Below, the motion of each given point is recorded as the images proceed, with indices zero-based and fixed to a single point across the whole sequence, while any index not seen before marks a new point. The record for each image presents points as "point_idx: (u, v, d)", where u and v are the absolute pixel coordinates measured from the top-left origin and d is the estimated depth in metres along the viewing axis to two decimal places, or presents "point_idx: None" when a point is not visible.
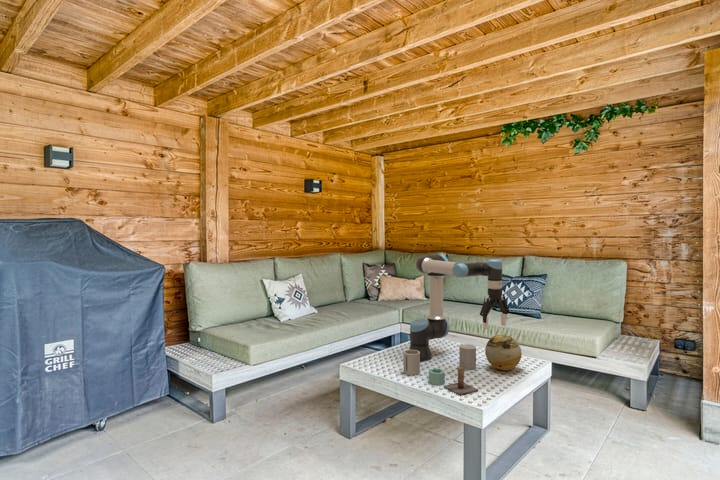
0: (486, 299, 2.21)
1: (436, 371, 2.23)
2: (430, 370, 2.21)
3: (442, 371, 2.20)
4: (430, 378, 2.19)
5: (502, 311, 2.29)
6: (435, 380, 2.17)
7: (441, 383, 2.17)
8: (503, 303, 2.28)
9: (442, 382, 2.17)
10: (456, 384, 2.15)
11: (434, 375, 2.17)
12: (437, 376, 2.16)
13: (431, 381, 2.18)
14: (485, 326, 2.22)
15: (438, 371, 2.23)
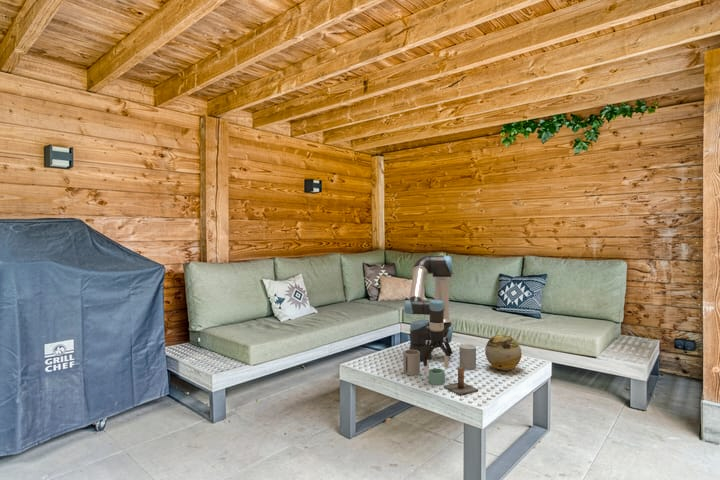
0: (427, 342, 2.16)
1: (436, 371, 2.23)
2: (430, 370, 2.21)
3: (442, 371, 2.20)
4: (430, 378, 2.19)
5: (445, 353, 2.24)
6: (435, 380, 2.17)
7: (441, 383, 2.17)
8: (446, 345, 2.23)
9: (442, 382, 2.17)
10: (456, 384, 2.15)
11: (434, 375, 2.17)
12: (437, 376, 2.16)
13: (431, 381, 2.18)
14: (426, 369, 2.16)
15: (438, 371, 2.23)
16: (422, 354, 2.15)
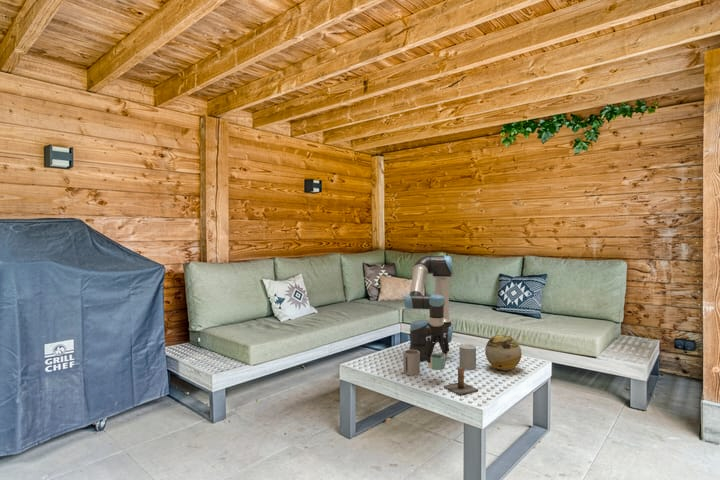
0: (427, 339, 2.16)
1: (436, 356, 2.23)
2: None
3: (442, 356, 2.20)
4: None
5: (442, 350, 2.23)
6: (435, 365, 2.17)
7: (441, 368, 2.17)
8: (444, 341, 2.23)
9: (442, 367, 2.17)
10: (456, 384, 2.15)
11: (434, 360, 2.17)
12: (437, 361, 2.17)
13: None
14: (429, 366, 2.18)
15: (438, 356, 2.23)
16: (425, 351, 2.17)
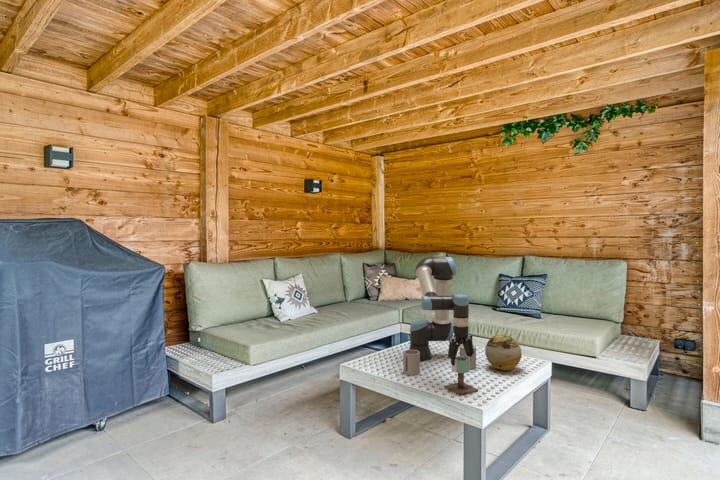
0: (451, 340, 2.06)
1: (460, 359, 2.12)
2: None
3: (467, 359, 2.09)
4: None
5: (466, 352, 2.13)
6: (460, 368, 2.06)
7: (466, 371, 2.06)
8: (469, 343, 2.12)
9: (467, 370, 2.06)
10: (456, 384, 2.15)
11: (459, 363, 2.06)
12: (462, 364, 2.06)
13: None
14: (453, 369, 2.07)
15: (462, 359, 2.12)
16: (449, 353, 2.06)
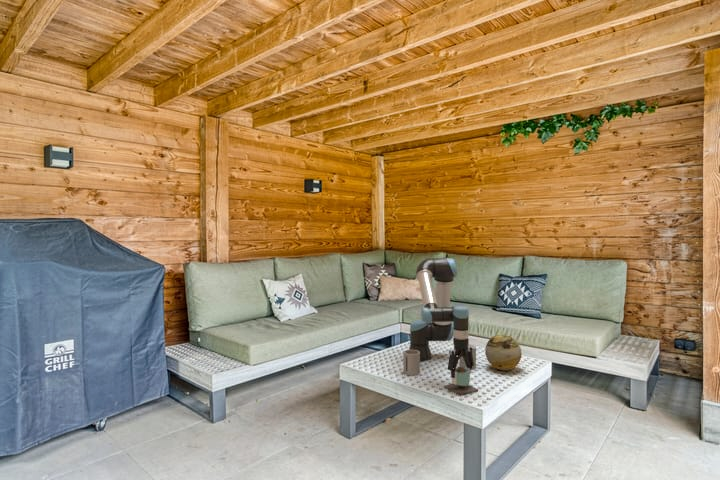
0: (451, 352, 2.06)
1: None
2: None
3: (467, 371, 2.09)
4: None
5: (466, 364, 2.13)
6: (460, 380, 2.06)
7: (466, 383, 2.06)
8: (469, 355, 2.13)
9: (467, 383, 2.07)
10: None
11: (459, 375, 2.06)
12: (462, 376, 2.06)
13: None
14: (453, 381, 2.08)
15: None
16: (449, 366, 2.06)
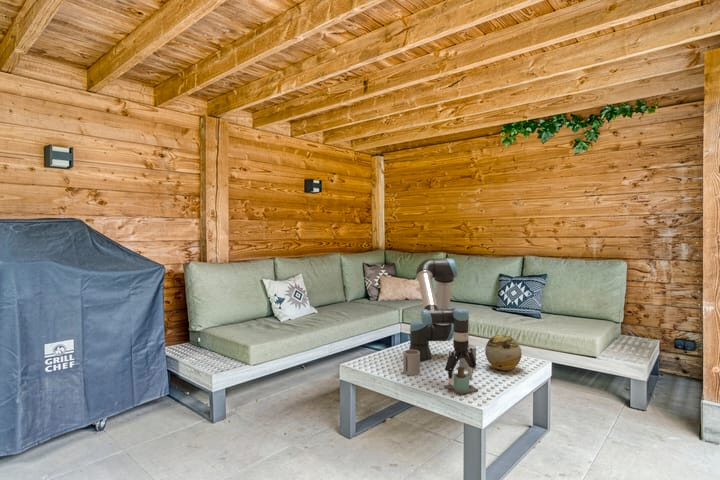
0: (451, 353, 2.06)
1: None
2: (454, 375, 2.11)
3: (466, 376, 2.09)
4: (454, 383, 2.08)
5: (469, 364, 2.14)
6: (459, 385, 2.06)
7: (466, 389, 2.07)
8: (470, 355, 2.13)
9: (466, 388, 2.07)
10: None
11: (458, 380, 2.06)
12: (462, 381, 2.06)
13: (455, 387, 2.08)
14: (451, 382, 2.07)
15: None
16: (447, 366, 2.06)
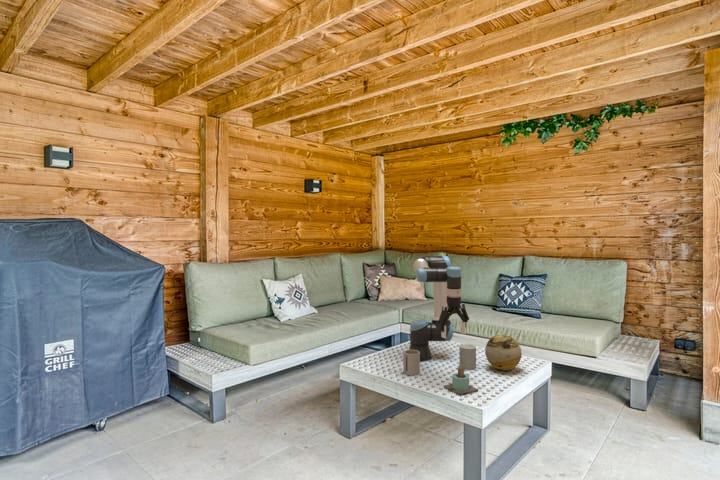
0: (444, 308, 2.16)
1: None
2: (454, 375, 2.11)
3: (466, 376, 2.09)
4: (454, 383, 2.08)
5: (462, 319, 2.24)
6: (459, 385, 2.06)
7: (466, 389, 2.07)
8: (463, 311, 2.23)
9: (466, 388, 2.07)
10: None
11: (458, 380, 2.06)
12: (462, 381, 2.06)
13: (455, 387, 2.08)
14: (443, 335, 2.17)
15: None
16: (439, 320, 2.15)
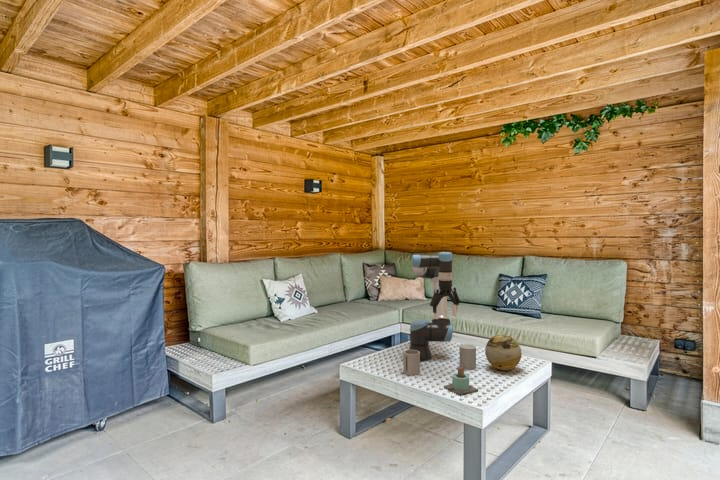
0: (436, 290, 2.29)
1: None
2: (454, 375, 2.11)
3: (466, 376, 2.09)
4: (454, 383, 2.08)
5: (453, 302, 2.37)
6: (459, 385, 2.06)
7: (466, 389, 2.07)
8: (454, 294, 2.36)
9: (466, 388, 2.07)
10: None
11: (458, 380, 2.06)
12: (462, 381, 2.06)
13: (455, 387, 2.08)
14: (435, 316, 2.29)
15: None
16: (432, 302, 2.28)
